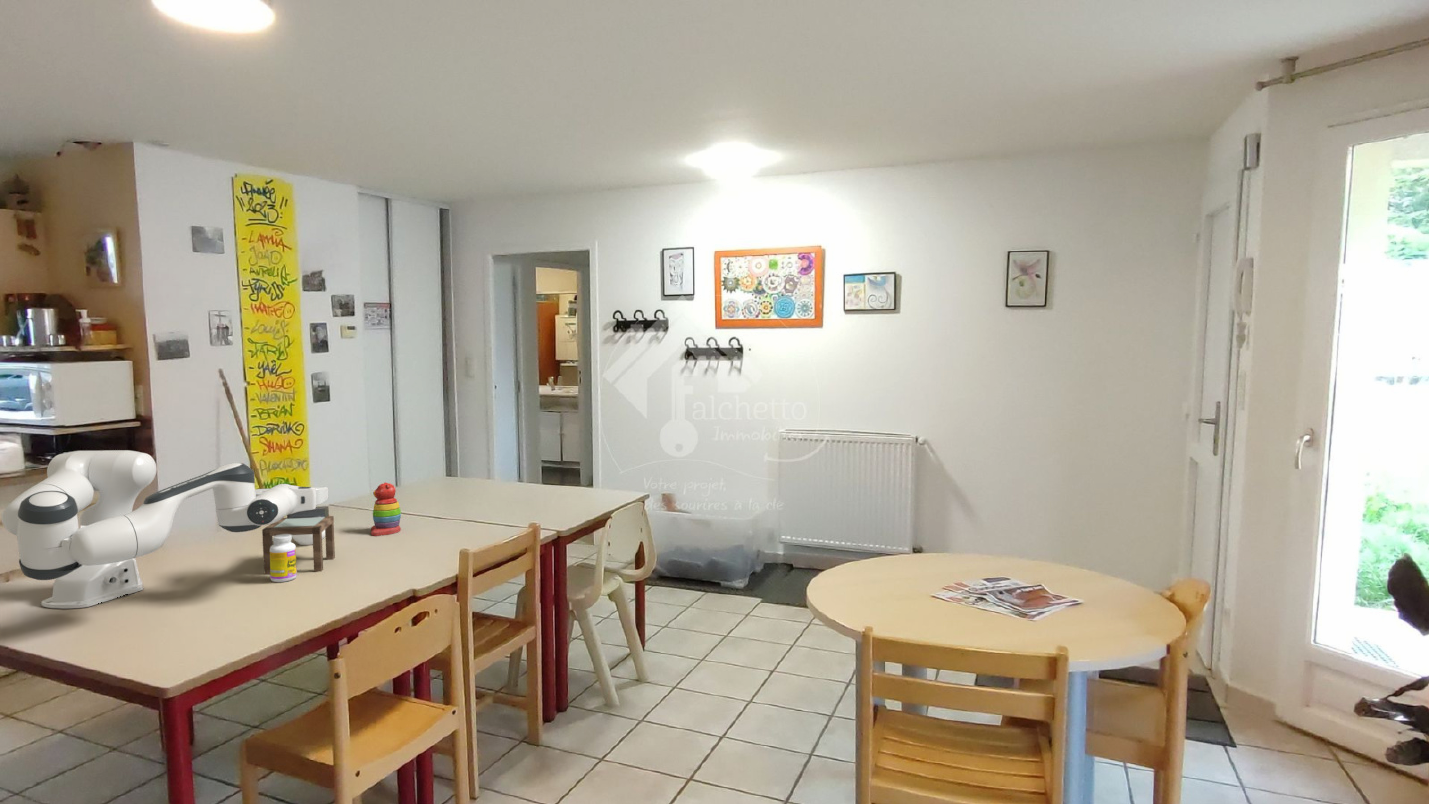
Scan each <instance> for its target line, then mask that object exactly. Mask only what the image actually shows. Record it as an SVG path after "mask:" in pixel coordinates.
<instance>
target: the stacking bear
mask: <svg viewBox="0 0 1429 804" xmlns="http://www.w3.org/2000/svg"><path fill="white" fill-rule="evenodd" d="M396 491H397V490H396V487H395V485H394V484H392V483H389V482H386V481H385V482H383V483H380V484H379V485H378V486H377V487H376V489H375V490H374V491H373V493H372V494H373V496H374V498H376V500H375V501H374V505H373V510H372V519H373V524H374V525H373V526H371V528H370V531H371V532H370V535H371V536H372V537H380V536H381V535H382V536H387V535H393V534H397V533H400V532H401V531H402V529H401V525H400V522H401V519H402V518H401V516H402V511H401V507H400V503H399V502H400V501H398V500H397V499H396V498H395V497H396ZM382 536H381V537H382Z"/></svg>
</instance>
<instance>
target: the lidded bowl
mask: <svg viewBox="0 0 1429 804" xmlns="http://www.w3.org/2000/svg"><path fill="white" fill-rule="evenodd" d="M329 516H331V515H330V514H329ZM325 539H326V538H325V530H324V531H323V532H322V541H323V540H325ZM292 540H293V541H294V542H296V543H297V545H299V546H313V534H307V535H292Z"/></svg>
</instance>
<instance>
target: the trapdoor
mask: <svg viewBox="0 0 1429 804" xmlns="http://www.w3.org/2000/svg"><path fill="white" fill-rule="evenodd" d="M329 509H330V508H329V506H327V505H326V506H316V508H315V509H313V510H308V511H301V512H296V513H293V514H288V515H287V516H286V517H285V518H286V519H285V520H284V521H282V522H281V523H279V524H278V525H277V526H275V527H274V528H279V527H303V526H315V525H316V524H318V523H319V522H320V521H321V520H323V519H324V518H325V517H326V516H329V515H330V513H329V511H330V510H329Z"/></svg>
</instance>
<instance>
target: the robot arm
mask: <svg viewBox="0 0 1429 804" xmlns="http://www.w3.org/2000/svg"><path fill="white" fill-rule="evenodd" d="M156 474H157V463H156V461H155V459H154V458H153V457H152V456H151V455H150V454H148V453H146V452H140V451H136V450H130V449H129V450H128V449H127V450H126V449H125V450H122V449H121V450H120V449H119V450H118V449H117V450H116V449H115V450H114V449H113V450H111V449H110V450H107V449H106V450H73V451H68V452H63V453H59V454H57V455H55V456H54V457H53V458H52V459H51V460H50V461H49V464H48V466H47V470H46V475H47V477H46V478H45V479H44V480H42V481H40V482H38V483H37V484H35V485H33V486H31V487H30V488H28V489H26V490H25V491H23V492H22V493H21V494H19V495H18V496H16V498H14V499H13V500H12V501H11V502H10V503H9V504H8V505H7V506H6V507H4V509H3V511H2V513H1V524H2V525H3V527H4V529H5V530H6V531H7V532H9V533H10V534H12V535H14V536H16V540H17V548H18V555H19V560H18V563H19V568H20V569H21V572H22V573H23V575H24V576H25V577H27V578H30V579H33V580H36V581H50V580H54V583H53V585H52V596H50V597H48V598H45V599H43V600H41V604H40V605H41V606H42V607H45V608H50V609H81V608H89V607H91V606H92V607H93V606H95V605H98V603H99V604H101V602H102V603H106V602H109V601H112V600H115V599H118V598H121V597H124V596H123V595H125V594H128V595H130V594H133V593H137V592H139V591H143V590H144V586H143V584H144V582H143V581H142V578H141V576H140V573H139V567H138V563H137V559H136V558H139V557H143V556H145V555H149V554H152V553H155V552H156V551H157V550H159V549H160V548H162V546H163V545H164V544H165V543H166V541H167V540H168V538H169V536H170V534H171V532H172V527H173V523H174V520H175V515H176V512H177V511H178V509H179V507H180V505H182V502H184V501H185V500H187V499H189V498H191V497H194V496H196V495H199V494H202V493H204V492H207V491H210V490H212V491H213V498H214V503H215V504H214V505H215V512H216V518H217V519H216V520H217V524H218V526H219V527H221V528H222V529H223V530H226V531H228V532H230V533H243V532H250V531H254V530H257V529H260V528H261V527H262V526H269V525H270V524H272V523H275V522H277V521H279V520H281V519H282V518H286V517H287V515H288V514H293V513H296V512H301V511H308V510H313V509H315V508H316V507H318V506H320V505H322V504H323V503H325V502H326V501H327V500H328V499H329V488H328V487H327V486H315V487H314V486H297V485H291V484H288V483H279V484H277V485H276V484H275V485H274V486H273V487H271V488H257V489H256V487H255V486H256V485H255V483H256V482H255V481H256V480H255V470H254V469H252V468H251V467H250V466H248V465H247V464H245V463H243V462H233V463H227V464H225V465H222V466H220V467H217V468H216V469H213V470H211V471H208V472H206V473H203V474H202V475H198V476H195V477H193V478H190V479H187V480H185V481H181V482H179V483H176V484H174V485H171V486H169V487H165V488H164V489H162V490H158V491H155V492H154V493H152V494H150V495H149V496H146V497H145V499H144V501H143V503H142V504H141V505H139V507H137V508H136V509H135V510H133V508H134V504H135V501H136V499H137V497H138V496H139V495H140V493H141V492H142V491H143V490H144V489H145V488H147V487H148V486H149V485H151V483H152V482H153V481H154V479H155V478H156V476H157V475H156ZM96 492H98V493H99V494H98V498H97V501H96V503H94V504H92V501H93V498H94V493H96ZM90 504H92V505H90ZM85 508H86V509H85ZM81 511H83V512H82V513H81V515H80V518H79V519H78V513H80V512H81ZM79 521H80V522H79ZM79 523H80V528H79ZM120 596H121V597H120ZM125 596H126V595H125ZM117 597H118V598H117Z"/></svg>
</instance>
